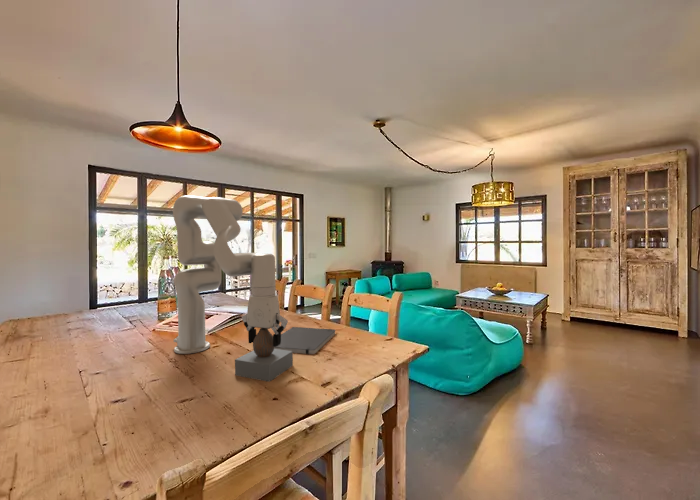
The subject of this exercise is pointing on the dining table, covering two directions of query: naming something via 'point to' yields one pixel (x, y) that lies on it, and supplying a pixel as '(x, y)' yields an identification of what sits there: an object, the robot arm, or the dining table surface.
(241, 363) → the slate block
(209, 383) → the dining table surface
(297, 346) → the notebook
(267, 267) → the robot arm
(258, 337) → the vase
